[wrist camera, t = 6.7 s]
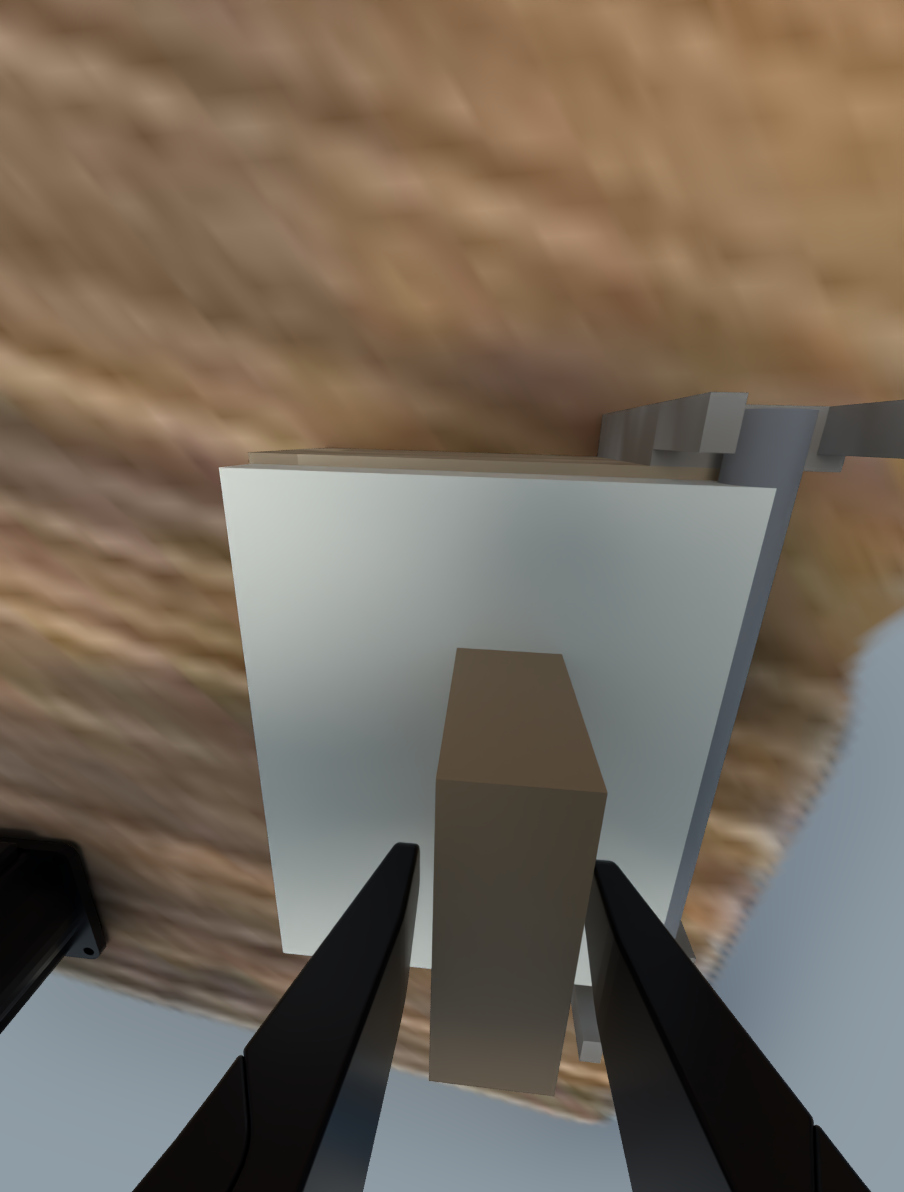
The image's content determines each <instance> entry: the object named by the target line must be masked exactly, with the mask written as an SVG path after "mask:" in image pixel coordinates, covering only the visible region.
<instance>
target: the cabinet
mask: <svg viewBox="0 0 904 1192" xmlns="http://www.w3.org/2000/svg"><path fill="white" fill-rule="evenodd" d="M747 397H748V393H734V392H708V393H704V394H699V395H694V396H689V397H684V398H680V399H675V400H670V401H665V402H660V403H656V404H651V405H646V406H641V407H636V408H632V409H627V410H622V411H617V412H612V413H608V414H603V416H602V424H601V432H600V440H599V448H598V456H597V457H592V456H561V455H530V454H499V453H469V452H438V451H407V450H376V449H345V448H314V449H298V450H281V451H265V452H248V454H249V463H250V464H271V465H299V466H326V467H353V468H380V469H408V470H435V471H462V472H490V473H517V474H544V475H571V476H599V477H626V478H653V479H681V480H708V481H718V478H719V473H720V469H721V464H722V459H723V455H724V453H735V451H736V447H737V442H738V438H739V433H740V429H741V424H742V420H743V415H744V411H745V409H761V408H795V409H815V410H820V411H819V414H818V418H817V422H816V425H815V429H814V433H813V436H812V440H811V444H810V447H809V451H808V455H807V458H806V462H805V466H804V469H803V471H816V472H841V469H842V466H843V463H844V459H845V456H861V457H881V458H901V459H904V400H897V401H886V402H875V403H864V404H853V405H842V406H832V407H824V406H783V405H746V402H747ZM675 940H676V941H677V943H678V944H679V945H680V946H681V948H682V949H683V950H684V952H685V953H686V954H687V955H688V957H689V958H690V959H691V961H692V962H693V963H695V960H696V958H695V955H694V952H693V950H692V947H691V945H690V942H689V940H688V937H687V935H686V932H685V930H684V927H683V925H682V922H681V920H680V924H679V927H678V931H677V935H676V938H675ZM571 1005H572V1012H573V1019H574V1026H575V1033H576V1040H577V1047H578V1054H579V1061H585V1062H593V1063H600V1061H601V1056H602V1052H603V1051H602V1046H601V1042H600V1036H599V1031H598V1026H597V1021H596V1013H595V1006H594V999H593V991H592V986H586V985H577V984H574V987H573V992H572V998H571Z"/></svg>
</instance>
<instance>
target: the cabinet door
mask: <svg viewBox="0 0 904 1192" xmlns="http://www.w3.org/2000/svg"><path fill="white" fill-rule="evenodd" d="M819 411H820V410H815V409H795V408H761V409H745V411H744V415H743V420H742V424H741V429H740V433H739V438H738V442H737V447H736V451H735V453H724V455H723V459H722V464H721V469H720V473H719V478H718V481H708V480H681V479H653V478H626V477H599V476H571V475H544V474H517V473H490V472H462V471H435V470H408V469H380V468H353V467H326V466H299V465H271V464H246V465H237V466H228V467H219V472H220V479H221V487H222V494H223V502H224V510H225V517H226V525H227V532H228V540H229V547H230V555H231V562H232V570H233V577H234V585H235V592H236V600H237V608H238V615H239V623H240V630H241V638H242V645H243V653H244V660H245V668H246V675H247V683H248V690H249V698H250V706H251V713H252V721H253V728H254V736H255V743H256V751H257V758H258V766H259V773H260V781H261V788H262V796H263V803H264V811H265V819H266V826H267V834H268V841H269V849H270V856H271V864H272V871H273V879H274V886H275V894H276V901H277V909H278V917H279V924H280V932H281V939H282V947H283V953H290V954H299V955H309V956H313V954H314V953H315V952H316V950H317V949H318V947H319V946H320V945H321V943H322V942H323V941H324V939H325V938H326V937H327V935H328V934H329V933H330V931H331V930H332V928H333V927H334V926H335V924H336V923H337V922H338V920H339V919H340V918H341V916H342V915H343V914H344V912H345V911H346V909H347V908H348V907H349V905H350V904H351V903H352V901H353V900H354V899H355V897H356V896H357V894H358V893H359V892H360V890H361V889H362V888H363V886H364V885H365V884H366V882H367V881H368V880H369V878H370V877H371V875H372V874H373V873H374V871H375V870H376V869H377V867H378V866H379V865H380V863H381V862H382V860H383V859H384V858H385V856H386V855H387V854H388V852H389V851H390V850H391V848H392V847H393V846H394V845H395V844H396V843H398V842H406V843H416V844H418V845H419V847H420V886H419V896H418V904H417V912H416V920H415V928H414V936H413V944H412V953H411V961H410V967H419V968H429V969H431V1011H430V1056H429V1081H434V1082H442V1083H450V1084H459V1085H467V1086H475V1087H483V1088H491V1089H499V1090H507V1091H515V1092H523V1093H531V1094H539V1095H547V1096H554V1094H555V1089H556V1083H557V1077H558V1072H559V1066H560V1060H561V1055H562V1049H563V1043H564V1038H565V1032H566V1026H567V1021H568V1015H569V1009H570V1004H571V998H572V992H573V987H574V984H577V985H586V986H592V982H591V974H590V966H589V957H588V949H587V941H586V932H585V919H586V913H587V907H588V902H589V896H590V890H591V885H592V879H593V873H594V868H595V862H596V859H598V860H609V861H613V862H615V863H616V864H617V865H618V866H619V868H620V869H621V870H622V871H623V873H624V874H625V875H626V877H627V878H628V879H629V880H630V882H631V883H632V884H633V886H634V887H635V888H636V890H637V891H638V892H639V893H640V895H641V896H642V897H643V899H644V900H645V901H646V902H647V904H648V905H649V906H650V908H651V909H652V910H653V912H654V913H655V914H656V915H657V917H658V918H659V919H660V921H661V922H662V923H663V924H664V926H665V927H666V928H667V930H668V931H669V932H670V934H671V935H672V936H673V937H674V939H675V938H676V935H677V931H678V927H679V924H680V920H681V916H682V913H683V909H684V905H685V902H686V898H687V894H688V891H689V887H690V883H691V880H692V876H693V872H694V869H695V865H696V861H697V858H698V854H699V850H700V847H701V843H702V839H703V836H704V832H705V828H706V825H707V821H708V817H709V814H710V810H711V806H712V803H713V799H714V795H715V792H716V788H717V784H718V781H719V777H720V773H721V770H722V766H723V762H724V759H725V755H726V752H727V748H728V744H729V741H730V737H731V733H732V730H733V726H734V722H735V719H736V715H737V711H738V708H739V704H740V700H741V697H742V693H743V689H744V686H745V682H746V678H747V675H748V671H749V667H750V664H751V660H752V656H753V653H754V649H755V645H756V642H757V638H758V634H759V631H760V627H761V623H762V620H763V616H764V612H765V609H766V605H767V601H768V598H769V594H770V590H771V587H772V583H773V579H774V576H775V572H776V568H777V565H778V561H779V557H780V554H781V550H782V546H783V543H784V539H785V535H786V532H787V528H788V524H789V521H790V517H791V513H792V510H793V506H794V502H795V499H796V495H797V491H798V488H799V484H800V480H801V477H802V473H803V469H804V466H805V462H806V458H807V455H808V451H809V447H810V444H811V440H812V436H813V433H814V429H815V425H816V422H817V418H818V414H819Z"/></svg>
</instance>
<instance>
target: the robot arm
mask: <svg viewBox="0 0 904 1192" xmlns="http://www.w3.org/2000/svg"><path fill="white" fill-rule="evenodd" d="M419 886H420V847H419V845H418V844H416V843H406V842H398V843H396V844H395V845H394V846H393V847H392V848H391V850H390V851H389V852H388V854H387V855H386V856H385V858H384V859H383V860H382V862H381V863H380V865H379V866H378V867H377V869H376V870H375V871H374V873H373V874H372V875H371V877H370V878H369V880H368V881H367V882H366V884H365V885H364V886H363V888H362V889H361V890H360V892H359V893H358V894H357V896H356V897H355V899H354V900H353V901H352V903H351V904H350V905H349V907H348V908H347V909H346V911H345V912H344V914H343V915H342V916H341V918H340V919H339V920H338V922H337V923H336V924H335V926H334V927H333V928H332V930H331V931H330V933H329V934H328V935H327V937H326V938H325V939H324V941H323V942H322V943H321V945H320V946H319V947H318V949H317V950H316V952H315V953H314V954H313V956H312V957H311V958H310V960H309V961H308V962H307V964H306V965H305V967H304V968H303V969H302V971H301V972H300V973H299V975H298V976H297V977H296V979H295V980H294V981H293V983H292V984H291V986H290V987H289V988H288V990H287V991H286V992H285V994H284V995H283V996H282V998H281V999H280V1000H279V1002H278V1003H277V1005H276V1006H275V1007H274V1009H273V1010H272V1011H271V1013H270V1014H269V1015H268V1017H267V1018H266V1020H265V1021H264V1022H263V1024H262V1025H261V1026H260V1028H259V1029H258V1030H257V1032H256V1033H255V1034H254V1036H253V1037H252V1039H251V1040H250V1041H249V1043H248V1044H247V1045H246V1047H245V1048H244V1057H243V1056H242V1055H240V1056H238V1057H237V1058H236V1060H235V1061H234V1063H233V1064H232V1065H231V1067H230V1068H229V1069H228V1071H227V1072H226V1074H225V1075H224V1076H223V1078H222V1079H221V1080H220V1082H219V1083H218V1084H217V1086H216V1087H215V1088H214V1090H213V1091H212V1092H211V1094H210V1095H209V1096H208V1098H207V1099H206V1101H205V1102H204V1103H203V1104H202V1105H201V1107H200V1108H199V1109H198V1111H197V1112H196V1113H195V1115H194V1116H193V1117H192V1118H191V1120H190V1121H189V1122H188V1124H187V1125H186V1126H185V1128H184V1129H183V1130H182V1131H181V1133H180V1134H179V1135H178V1137H177V1138H176V1140H175V1141H174V1142H173V1143H172V1144H171V1146H170V1147H169V1148H168V1149H167V1150H166V1151H165V1153H164V1154H163V1155H162V1157H161V1158H160V1159H159V1160H158V1161H157V1162H156V1163H155V1165H154V1166H153V1167H152V1168H151V1170H150V1171H149V1172H148V1173H147V1174H146V1176H145V1177H144V1178H143V1179H142V1180H141V1182H140V1183H139V1184H138V1185H137V1187H136V1188H135V1189H134V1190H133V1191H132V1192H363V1189H364V1184H365V1179H366V1175H367V1171H368V1166H369V1162H370V1157H371V1153H372V1148H373V1144H374V1139H375V1135H376V1130H377V1126H378V1121H379V1117H380V1112H381V1108H382V1103H383V1099H384V1094H385V1090H386V1086H387V1081H388V1077H389V1072H390V1068H391V1063H392V1059H393V1054H394V1050H395V1045H396V1041H397V1036H398V1032H399V1027H400V1023H401V1018H402V1013H403V1008H404V1003H405V998H406V991H407V984H408V977H409V969H410V961H411V953H412V944H413V936H414V928H415V920H416V912H417V904H418V896H419ZM585 932H586V941H587V949H588V957H589V966H590V974H591V982H592V991H593V999H594V1006H595V1013H596V1021H597V1026H598V1031H599V1036H600V1042H601V1046H602V1051H603V1056H604V1060H605V1065H606V1070H607V1074H608V1079H609V1084H610V1088H611V1093H612V1098H613V1102H614V1107H615V1112H616V1116H617V1121H618V1125H619V1130H620V1135H621V1140H622V1144H623V1149H624V1154H625V1158H626V1163H627V1167H628V1172H629V1177H630V1182H631V1186H632V1191H633V1192H871V1191H870V1190H869V1189H868V1187H867V1186H866V1185H865V1184H864V1182H862V1180H861V1179H860V1177H859V1176H858V1175H857V1174H856V1172H855V1171H854V1170H853V1168H852V1167H851V1166H850V1165H849V1163H848V1162H847V1161H846V1159H845V1158H844V1157H843V1156H842V1154H841V1153H840V1152H839V1150H838V1149H837V1148H836V1147H835V1146H834V1144H833V1143H832V1141H831V1140H830V1139H829V1138H828V1136H827V1135H826V1134H825V1132H824V1131H823V1130H822V1128H821V1127H820V1126H818V1125H814V1122H813V1118H812V1116H811V1115H810V1113H809V1112H808V1111H807V1109H806V1108H805V1107H804V1106H803V1104H802V1103H801V1102H800V1100H799V1099H798V1098H797V1096H796V1095H795V1094H794V1093H793V1091H792V1090H791V1089H790V1087H789V1086H788V1085H787V1084H786V1082H785V1081H784V1080H783V1079H782V1077H781V1076H780V1075H779V1073H778V1072H777V1071H776V1069H775V1068H774V1067H773V1066H772V1064H771V1063H770V1062H769V1060H768V1059H767V1058H766V1056H765V1055H764V1054H763V1052H762V1051H761V1050H760V1049H759V1047H758V1046H757V1045H756V1043H755V1042H754V1041H753V1040H752V1038H751V1037H750V1036H749V1034H748V1033H747V1032H746V1030H745V1029H744V1028H743V1027H742V1025H741V1024H740V1023H739V1022H738V1020H737V1019H736V1018H735V1016H734V1015H733V1014H732V1013H731V1011H730V1010H729V1009H728V1007H727V1006H726V1005H725V1003H724V1002H723V1001H722V999H721V998H720V997H719V996H718V994H717V993H716V992H715V990H714V989H713V988H712V987H711V985H710V984H709V983H708V981H707V980H706V979H705V977H704V976H703V975H702V974H701V972H700V971H699V970H698V968H697V967H696V966H695V965H694V963H693V962H692V961H691V959H690V958H689V957H688V955H687V954H686V953H685V952H684V950H683V949H682V948H681V946H680V945H679V944H678V943H677V941H676V940H675V939H674V937H673V936H672V935H671V934H670V932H669V931H668V930H667V928H666V927H665V926H664V924H663V923H662V922H661V921H660V919H659V918H658V917H657V915H656V914H655V913H654V912H653V910H652V909H651V908H650V906H649V905H648V904H647V902H646V901H645V900H644V899H643V897H642V896H641V895H640V893H639V892H638V891H637V890H636V888H635V887H634V886H633V884H632V883H631V882H630V880H629V879H628V878H627V877H626V875H625V874H624V873H623V871H622V870H621V869H620V868H619V866H618V865H617V864H616V863H615V862H613V861H609V860H598V859H596V862H595V868H594V873H593V879H592V885H591V890H590V896H589V902H588V907H587V913H586V919H585ZM105 947H106V942H105V938H104V935H103V932H102V929H101V926H100V923H99V919H98V916H97V913H96V910H95V907H94V904H93V900H92V897H91V894H90V891H89V888H88V885H87V882H86V878H85V875H84V872H83V869H82V866H81V863H80V859H79V856H78V853H77V851H76V850H75V849H74V848H73V847H72V846H70V845H68V844H64V843H54V842H43V841H32V840H22V839H11V838H1V837H0V1034H1V1032H2V1031H3V1030H4V1029H5V1028H6V1026H7V1025H8V1024H9V1023H10V1022H11V1020H12V1019H13V1018H14V1017H15V1016H16V1014H17V1013H18V1012H19V1011H20V1009H21V1008H22V1007H23V1006H24V1005H25V1003H26V1002H27V1001H28V1000H29V999H30V997H31V996H32V995H33V994H34V992H35V991H36V990H37V989H38V988H39V986H40V985H41V984H42V983H43V981H44V980H45V979H46V978H47V977H48V975H49V974H50V973H51V972H52V971H53V969H54V968H55V967H56V966H57V965H58V963H59V962H60V961H61V960H62V958H63V957H64V956H70V957H79V958H87V959H96V958H98V957H99V955H100V954H101V953H102V951H103V950H104V949H105Z"/></svg>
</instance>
